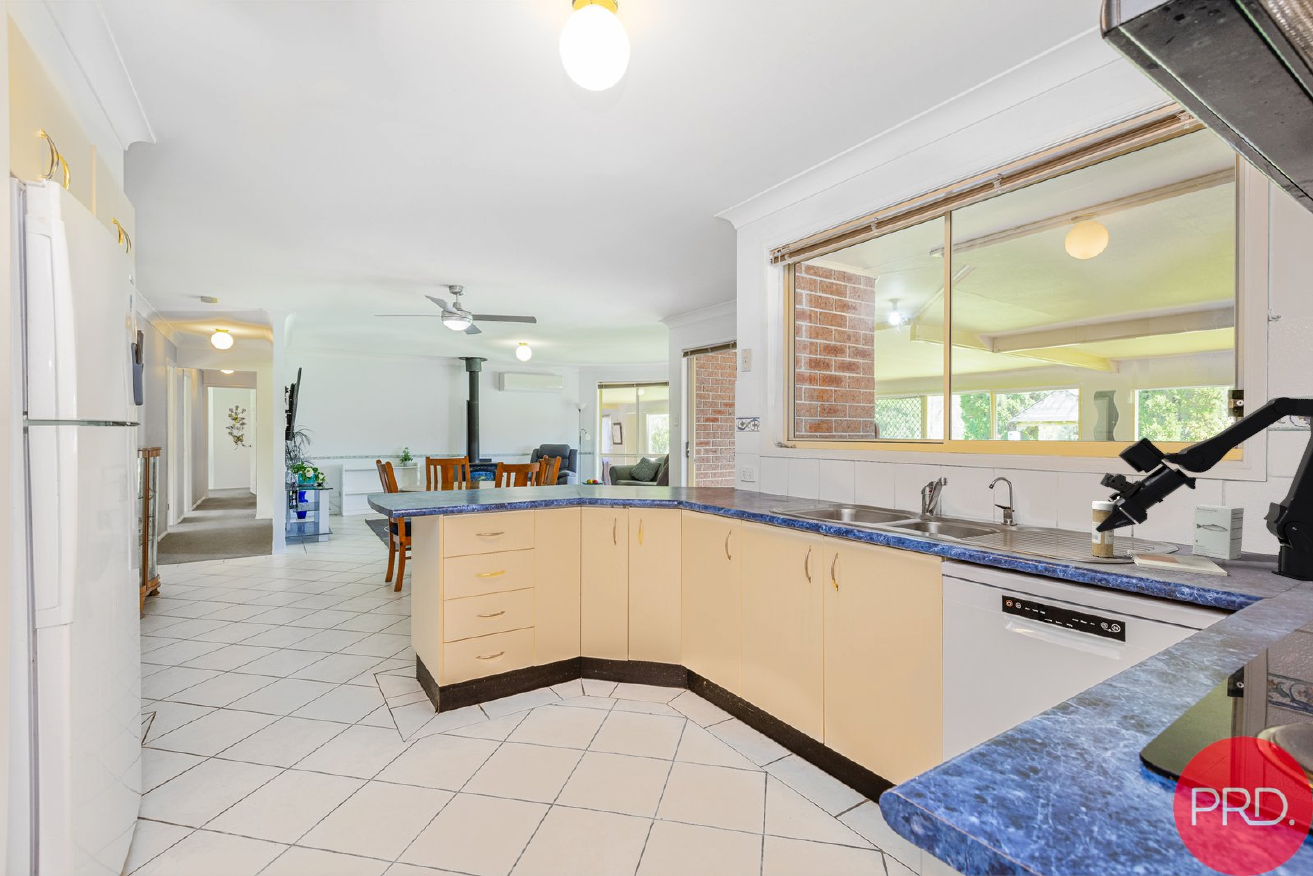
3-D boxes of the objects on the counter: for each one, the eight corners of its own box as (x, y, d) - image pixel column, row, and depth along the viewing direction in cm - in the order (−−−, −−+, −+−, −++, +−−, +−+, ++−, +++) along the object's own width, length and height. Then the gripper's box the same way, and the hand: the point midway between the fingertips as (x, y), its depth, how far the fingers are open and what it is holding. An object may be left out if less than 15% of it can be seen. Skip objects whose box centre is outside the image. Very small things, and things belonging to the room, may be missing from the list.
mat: (1206, 561, 144) (1206, 557, 144) (1227, 576, 129) (1227, 572, 129) (1127, 552, 152) (1127, 549, 152) (1138, 566, 137) (1138, 562, 137)
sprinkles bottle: (1116, 559, 145) (1118, 503, 144) (1093, 557, 146) (1095, 502, 146) (1110, 555, 149) (1112, 501, 148) (1088, 553, 150) (1090, 500, 150)
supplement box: (1191, 554, 152) (1193, 504, 152) (1204, 552, 155) (1206, 503, 155) (1229, 560, 145) (1231, 508, 145) (1242, 557, 149) (1244, 507, 148)
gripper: (1120, 460, 153) (1066, 500, 159) (1130, 463, 137) (1070, 507, 143) (1159, 493, 149) (1102, 533, 155) (1174, 501, 133) (1110, 544, 139)
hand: (1095, 528), depth 148 cm, fingers open, 7 cm apart
